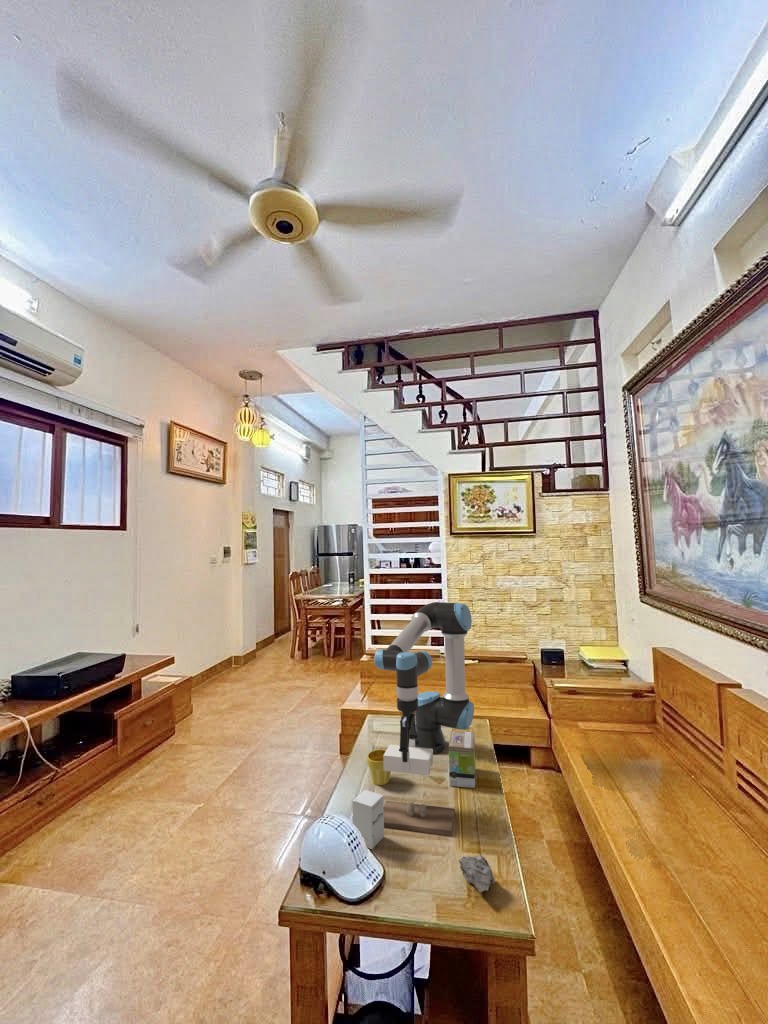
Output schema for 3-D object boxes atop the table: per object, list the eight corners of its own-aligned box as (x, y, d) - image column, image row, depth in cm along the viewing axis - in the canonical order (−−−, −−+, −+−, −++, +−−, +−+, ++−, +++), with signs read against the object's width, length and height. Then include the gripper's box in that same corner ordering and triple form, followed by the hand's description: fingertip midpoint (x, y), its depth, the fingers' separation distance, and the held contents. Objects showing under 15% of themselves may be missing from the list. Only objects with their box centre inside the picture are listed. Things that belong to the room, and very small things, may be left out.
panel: (389, 758, 160) (389, 744, 161) (433, 763, 156) (432, 748, 157) (383, 770, 152) (383, 755, 152) (429, 775, 148) (428, 760, 148)
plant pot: (391, 789, 165) (390, 762, 165) (364, 787, 167) (364, 760, 167) (396, 775, 175) (395, 749, 175) (371, 773, 177) (370, 748, 177)
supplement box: (372, 851, 131) (371, 807, 132) (352, 842, 135) (351, 800, 136) (385, 836, 138) (384, 794, 139) (365, 829, 142) (364, 788, 143)
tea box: (476, 788, 163) (474, 747, 165) (449, 786, 165) (447, 746, 167) (475, 768, 178) (474, 731, 179) (451, 766, 180) (449, 729, 181)
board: (386, 804, 155) (386, 791, 155) (454, 813, 149) (454, 799, 149) (377, 826, 143) (377, 811, 143) (451, 836, 137) (450, 820, 138)
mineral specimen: (487, 902, 118) (454, 900, 115) (480, 864, 124) (449, 862, 122) (506, 891, 113) (472, 889, 110) (498, 853, 119) (466, 850, 116)
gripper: (403, 688, 168) (404, 749, 165) (389, 707, 147) (390, 778, 145) (423, 689, 166) (424, 751, 163) (411, 709, 145) (413, 780, 143)
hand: (408, 764), depth 154 cm, fingers closed on panel, 9 cm apart
